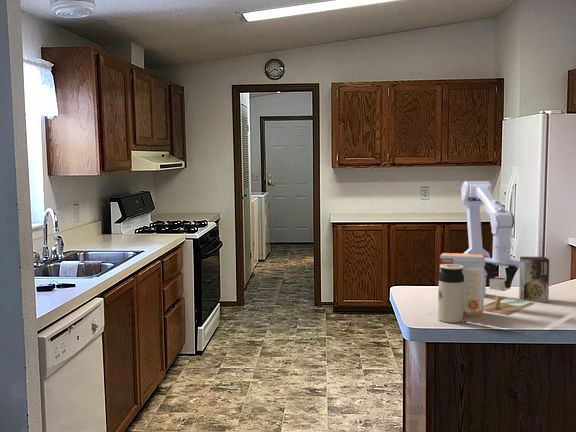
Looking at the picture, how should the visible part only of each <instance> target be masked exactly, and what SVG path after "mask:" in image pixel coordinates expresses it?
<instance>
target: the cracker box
mask: <svg viewBox="0 0 576 432" xmlns="http://www.w3.org/2000/svg"><path fill="white" fill-rule="evenodd" d="M442 264H457V265H462V266H463V267H464V268H463V270H462V273H463V275H464V305H463V316H470V317H482V318H483V315H484V311H483V306H484V305H485V304H484V301H485V300H484V299H485V298H484V297H485V296H484V255H477V254H463V253H459V252H457V253H455V252H454V253H453V252H442V253H441V254H440V256H439V273H440V272H441V267H440V265H442Z"/></svg>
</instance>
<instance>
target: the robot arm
mask: <svg viewBox="0 0 576 432" xmlns="http://www.w3.org/2000/svg"><path fill="white" fill-rule="evenodd" d="M492 190H493V188H492V183H491V182H490V181H488V180H485V181H467V180H465V181H464V182H462V185H461V188H460V194H461V203H462V204H463V205H465V209H466V221H467V222H466V223H467V236H468V248H467V250H465V251H464V252H463V253H462V254H477V255H484V297H486V294H487V293H486V292H487V289H486V287H487V278H488V281H489V283H490V279H491V278H494V277H496V269H497V266H501V267H502V266H503V267H505V278H506V288H510V287H511V288H512V284H513V280H514V278H515V275H516V273H517V272H518V270H519V269H520V268H523V262H520V260H519V261H518V260H513V259H511V243H512V242H511V240H512V239H511V238H512V236H511V235H512V229H513V228H514V226H515V219H516V218H515V215H514V213H513V212H512V211H510V210H509V211H508V210H506V208H505V207H504V206H503V204H502V202H501V201H500V200H499V199H495V198H494V196H493V194H492V192H493V191H492ZM483 205H484V210H485V212H486V213H487V216H489V218H490V227H491V234H492V257H491V256H490V252H488V251H487V250H486V249H484V248H483V235H482V222H481V219H482V218H481V206H483Z"/></svg>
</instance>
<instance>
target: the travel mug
mask: <svg viewBox="0 0 576 432" xmlns="http://www.w3.org/2000/svg"><path fill="white" fill-rule="evenodd" d="M440 267H441V272H440V271H439V274H438V302H437V303H438V304H437V320H439V321H440V322H443V323H448V324H456V323H461V322H463V321H464V315H463V305H464V275H463V273H462V270H463V268H464V267H463V266H462V265H457V264H442V265H440V264H439V268H440Z"/></svg>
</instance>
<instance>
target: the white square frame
mask: <svg viewBox="0 0 576 432" xmlns="http://www.w3.org/2000/svg"><path fill="white" fill-rule="evenodd" d="M511 288H512V286H511V287H510V288H506V277H502V276H495V277H494V278H491V279H490V282H489V290H495V291H501V292H505V291H508V290H511Z"/></svg>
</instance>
